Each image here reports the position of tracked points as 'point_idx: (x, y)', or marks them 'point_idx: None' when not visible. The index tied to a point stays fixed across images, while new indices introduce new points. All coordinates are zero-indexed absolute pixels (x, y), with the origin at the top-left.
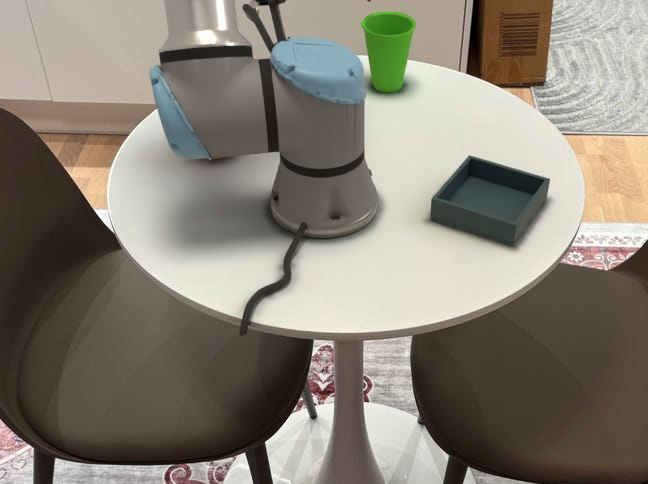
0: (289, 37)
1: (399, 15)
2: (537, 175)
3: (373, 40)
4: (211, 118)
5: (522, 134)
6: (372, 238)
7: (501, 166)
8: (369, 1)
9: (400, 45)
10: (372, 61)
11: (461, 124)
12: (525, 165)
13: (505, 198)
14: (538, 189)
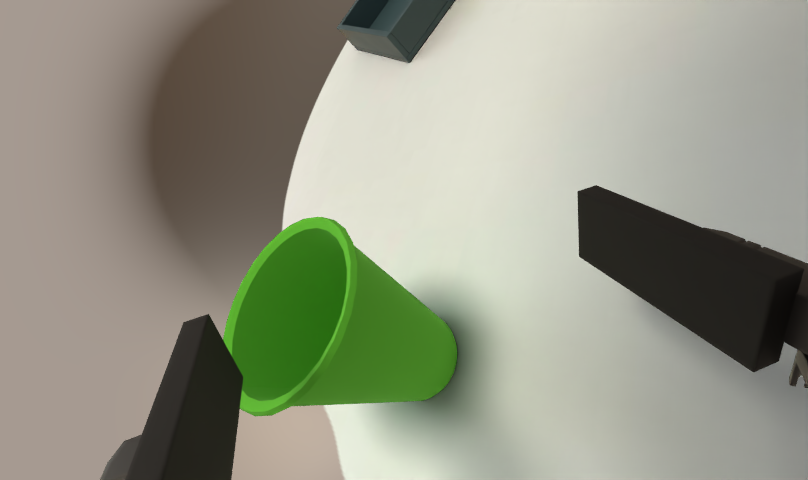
0: (769, 276)
1: None
2: (343, 27)
3: (362, 257)
4: None
5: (313, 174)
6: None
7: (365, 28)
8: (241, 375)
9: (318, 254)
10: (413, 305)
11: (362, 192)
12: (343, 106)
13: (390, 25)
14: (354, 4)
